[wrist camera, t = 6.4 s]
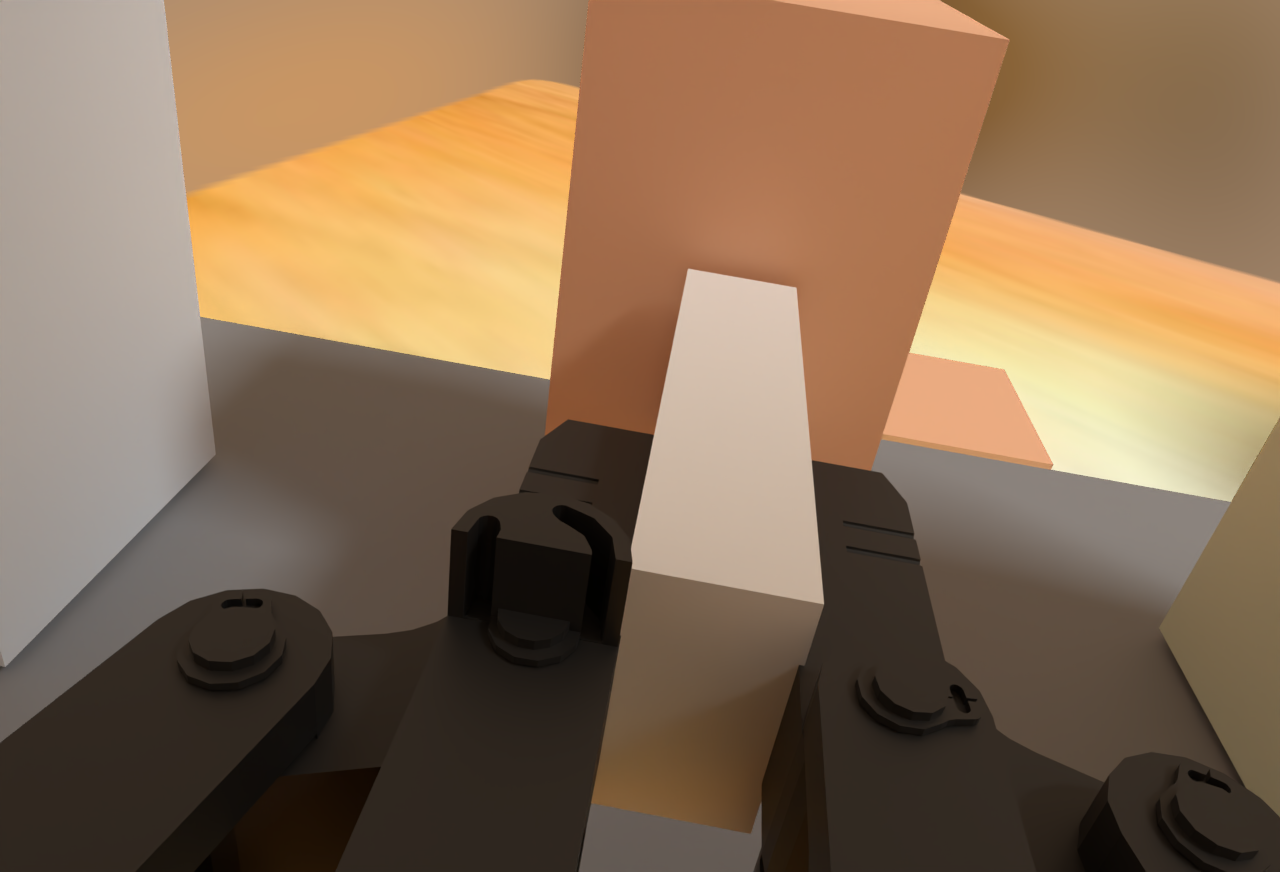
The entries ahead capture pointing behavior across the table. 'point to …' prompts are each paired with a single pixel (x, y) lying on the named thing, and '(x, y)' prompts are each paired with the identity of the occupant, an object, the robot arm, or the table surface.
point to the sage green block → (1238, 627)
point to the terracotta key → (764, 191)
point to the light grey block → (90, 299)
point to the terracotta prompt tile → (963, 412)
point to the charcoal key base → (496, 466)
